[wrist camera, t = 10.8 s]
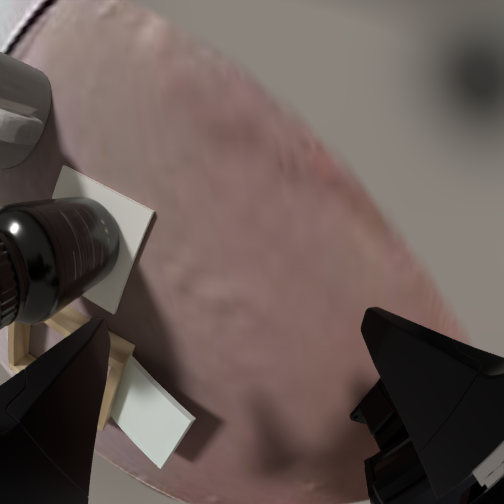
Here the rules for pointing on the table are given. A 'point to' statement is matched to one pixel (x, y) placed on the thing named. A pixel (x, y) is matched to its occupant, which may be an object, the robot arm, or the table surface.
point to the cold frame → (65, 325)
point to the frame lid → (149, 414)
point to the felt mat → (128, 224)
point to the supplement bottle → (52, 255)
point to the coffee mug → (21, 109)
